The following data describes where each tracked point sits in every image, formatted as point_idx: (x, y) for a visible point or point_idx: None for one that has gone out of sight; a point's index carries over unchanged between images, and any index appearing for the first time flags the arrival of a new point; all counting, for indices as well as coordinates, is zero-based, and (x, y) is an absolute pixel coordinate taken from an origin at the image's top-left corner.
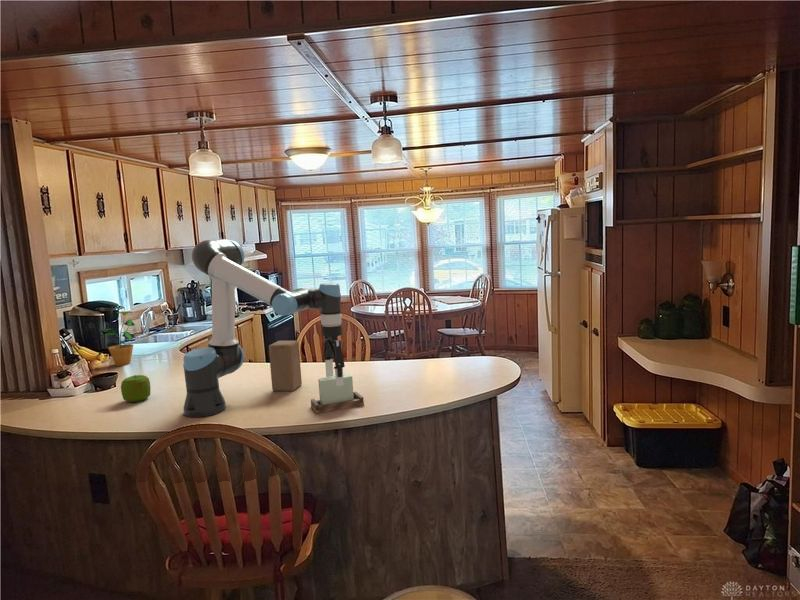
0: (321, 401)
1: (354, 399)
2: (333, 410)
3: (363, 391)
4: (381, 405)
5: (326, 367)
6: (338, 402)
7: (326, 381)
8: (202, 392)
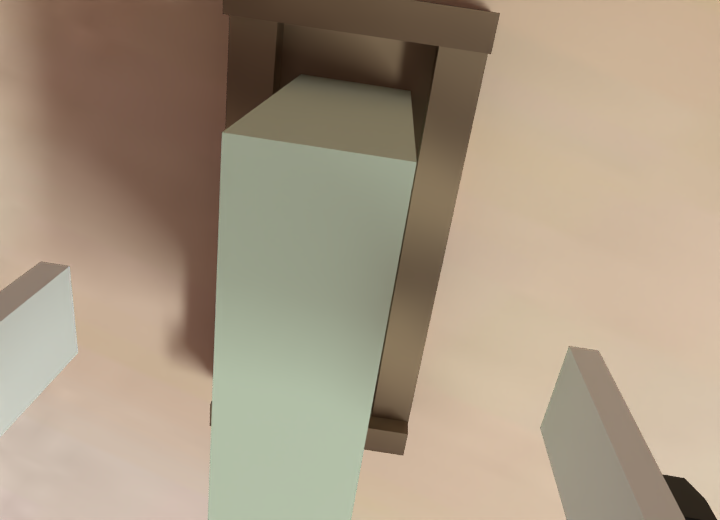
0: (336, 87)
1: None
2: None
3: (540, 517)
4: (149, 457)
5: (615, 460)
6: None
7: (224, 219)
8: None
